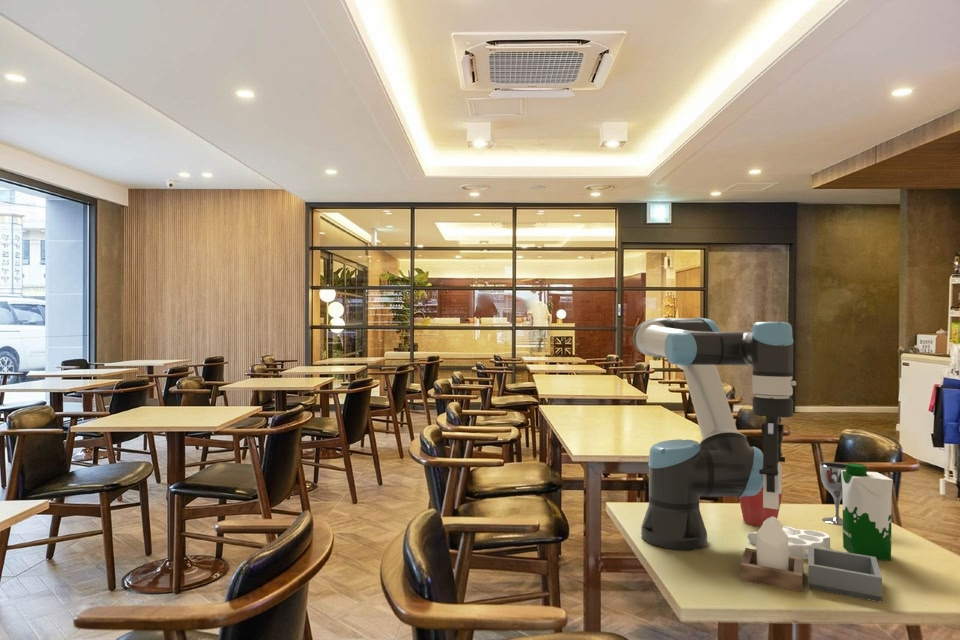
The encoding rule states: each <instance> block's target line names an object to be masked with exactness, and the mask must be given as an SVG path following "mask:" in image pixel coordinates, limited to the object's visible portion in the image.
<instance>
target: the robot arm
mask: <svg viewBox="0 0 960 640" xmlns="http://www.w3.org/2000/svg"><path fill="white" fill-rule="evenodd" d="M632 343H633V344H634V347H635V349H636V350H637V351H638V352H640V353H641V354H643V355H646V356H648V357H652V358H663V359H664V358H665V359H666V360H667V362H668V363H669V364H672V365H676V366H677V368H679V369H680V370H683V372H684V373H683V374H684V377H685V381H686V384H687V388H688V392H689V396H690V398H691V402H692V405H693V408H694V412H695V416H696V421H697V424H698V427H699V430H700V434H701V438H702V439H701V441H700V442H699V441H696V440H693V439H679V438H677V439H669V440H664V441H660V442H657V443H654V444H653V445H652V446H651V447H650V449H649V455H648V456H649V457H648V464H647V465H648V507H647V509H646V512H645V515H644V517H643V521H642V524H641V526H640V527H641V530H640V531H641V532H640V534H641V535H642V536H641V538H642V539H643V540H644V541H645V540H646V541H645V542H647V543H649V544H652V545H654V546H657V547H660V548H665V549H671V550H678V551H679V550H681V551H682V550H683V551H685V550H686V551H687V550H688V551H690V550H698V549H702V548H704V547H706V546H707V545H708V532H707V529H706V526H705V522H704V520H703V516H702V514H701V509H700V497H727V498H729V497H732V498H733V497H734V498H739V497H742V496H755V495H757V494H758V493H759V492H760V491H761V489H762V487H763V508H771V509H778V510H779V511H780V508H779V494H782V495H783V492H782V489H783V480H782V479H783V466H782V465H783V464H782V463H786V457H784V456H783V453H782V442H783V440H784V439H783V438H784V432H785V431H784V427H785V426H784V424H782V422H781V421H782V418H790V417H793V415H794V400H793V398H791V397H790V396H792V395H793V394H794V392H793V391H794V390H793V387H794V386H797V381H795V380H793V379H794V378H793V375H794V374H793V372H794V371H793V370H794V367H793V366H794V361H793V360H794V338H793V327H792V325H791V323H789V322H786V321H757V322H755V323H753V325H752V329H751V331H720V328H719V326H718V325H717V323H716V322H715V321H714V320H712V319H709V318H702V317H692V318H687V317H685V318H684V317H681V318H680V317H654V318H649V319H647V320H645V321H643V322H640V324H639V325H638V326H636V328H635V330H634V331H633V335H632ZM717 366H747V367H748V366H749V367H751V366H752V372H751V373H752V375H751V377H752V378H751V385H752V386H751V387H752V388H751V389H752V390H751V392H752V394H753V395H754V396H753V397H752V413H753V415H755V416H760V417H765V422H762V424H761V434H762V437H761V439H762V440H761V441H762V445H763V451H762V450H761V449H760V448H758V447H755V446H750V444H749V441H748V438H747V436H746V435H744V434H743V433H741V432H739V431H738V428H737V425H736V422H735V419H734V415H733V414H732V410H731V407H730V404H729V401H728V398H727V395H726V392H725V389H724V386H723V383H722V379H721V377H720V372H719V370H718V368H717Z"/></svg>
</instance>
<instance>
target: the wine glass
mask: <svg viewBox="0 0 960 640" xmlns="http://www.w3.org/2000/svg"><path fill="white" fill-rule="evenodd" d="M846 464H847V463H844V462H837V461H823V462H822V461H821V462H820V463H819V470H820V479H821V482H822V485H823V486H824V488H825V489H826V490H827V491H828V492H829V493H830V494H831V496H832V498H833V501H834V506H835V515H834V516H825V517H822V518H821V520H822V521H823V522H824V523H826V524H831V525H835V526H842V527H843V517H840V504H841V500H842V499H843V489H842V477H841V470H846Z"/></svg>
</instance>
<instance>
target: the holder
mask: <svg viewBox="0 0 960 640" xmlns="http://www.w3.org/2000/svg"><path fill="white" fill-rule="evenodd" d="M788 558H789V560H788V562H789V563H788V571H786V570H781V569H775V568H770V567H764V566H759V565H757V548H755V549H754V548H751V547H745V549H744V552H743V555H742V558H741V561H740V571H739V573H740V574H739V577H740V578H739V579H740V580H741V581H746V582H749V583H750V582H751V583H756V584H760V585H764V586H771V587H776V588H781V589H786V590H791V591H796V592H802V593H803V585H804V584H803V582H804V581H803V580H804V559H803V558H802V557H796V556H791V555H789V557H788Z"/></svg>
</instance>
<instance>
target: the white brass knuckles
mask: <svg viewBox="0 0 960 640" xmlns="http://www.w3.org/2000/svg"><path fill="white" fill-rule="evenodd" d="M781 527H782V529H783V531H784V532H785V533H786V535H787V536H788V552H789V555H791V556H796V557H802V558H803V560H808V552H809V546H811V547H817V548H823V549H829V550H831V537H830V535H829V534H828V533H825V532H822V531H819V530H814V529H813V530H812V529H800V528H799V529H798V528H794V527H792V526H788V525H787V526H786V525H783V526H782V525H781ZM756 534H757V531H752V532H749V533H748V534H747V539H748V541H749V542H750V543H751V544H752V545H755V546H756Z"/></svg>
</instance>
